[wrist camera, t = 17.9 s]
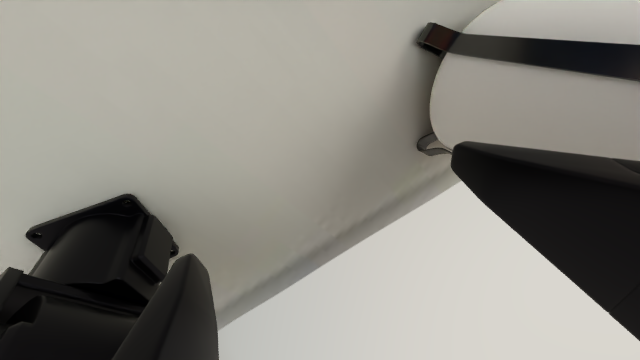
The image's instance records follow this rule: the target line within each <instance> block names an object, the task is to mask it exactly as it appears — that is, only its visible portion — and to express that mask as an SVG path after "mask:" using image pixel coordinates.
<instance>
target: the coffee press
mask: <svg viewBox="0 0 640 360" xmlns="http://www.w3.org/2000/svg"><path fill="white" fill-rule="evenodd" d="M417 44H418V45H419V46H420V47H421V48H423V49H425V50H426V51H428V52H430V53H432V54H434V55H436V56H438V57H440V58H441V59H443V61H442V63H441V65H440V67H439V70H438V72H437V75H436V77H435V80H434V84H433V88H432V92H431V98H430V119H431V124H432V128H433V130H434V132H433V133H431V134H428V135H426V136H424V137H422V138H421V139H420V140H419V141H418V143H417V149H418V150H419V151H420V152H422V153H424V154H426V155H428V156H433V155H438V154H450V155H452V152H450V151H448V150H446V149H443V148H432V149H427V150H426V147H427V145H428V144H430V143H431V142H434V141H436V140H439V141H440V142H441V143H442V144H443V145H444V146H446V147H447V148H449V149H450V150H452V151H453V147H454V146H455V145H456V144H459V143H461V142H463V141H472V142H481V143H490V144H498V145H507V146H515V147H524V148H532V149H541V150H550V151H558V152H567V153H575V154H584V155H592V156H601V157H609V158H619V159H627V160H636V161H640V0H502V1H500V2H498V3H496V4H494V5H493V6H491V7H489V8H488V9H486V10H485V11H484V12H482V13H481V14H480V15H478V16H477V17H476V18H475V19H474V20H473V21H472V22H471V23H470V24H469V25H468V26H467V27H466V28H465V29H464V30H463V31H462V32H461V33H460V32H456V31H454V30H451V29H448V28H446V27H443V26H441V25H438V24H436V23H428V24H427V25H426V27H425V29H424V30H423V32H422V34H421V35H420V37H419V39H418V40H417Z"/></svg>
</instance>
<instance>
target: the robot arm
mask: <svg viewBox="0 0 640 360" xmlns="http://www.w3.org/2000/svg"><path fill="white" fill-rule="evenodd" d="M451 168H452V170H453V171H454V173H455V174H456V175H457V176H458V177H459V178H460V179H461V180H462V181H463V182H464V183H465V184H466V185H467V186H468V188H470V189H471V191H472V192H473V193H474V194H475V195H476V196H477V197H478V198H479V199H480V200H481V201H482V202H483V203H484V204H485V205H486V206H487V207H488V208H489V209H491V210H492V211H493V212H494V213H495V214H496V215H497V216H499V217H500V218H501V219H502V220H503V221H504V222H505V223H507V224H508V225H509V226H510V227H511V228H512V229H513V230H514V231H516V232H517V233H518V234H519V235H520V236H522V238H524V239H525V240H526V241H527V242H528V243H529V244H531V245H532V246H533V247H534V248H535V249H536V250H537V251H538V252H540V253H541V254H542V255H543V256H544V257H545V258H546V259H547V260H549V261H550V262H551V263H552V264H553V265H554V266H556V267H557V268H558V269H559V270H560V271H561V272H562V273H563V274H565V275H566V276H567V277H568V278H569V279H570V280H571V281H572V282H574V283H575V284H576V285H577V286H578V287H579V288H580V289H582V290H583V291H584V292H585V293H586V294H587V295H588V296H590V297H591V298H592V299H593V300H594V301H595V302H596V303H598V304H599V305H600V306H601V307H602V308H603V309H604V310H606V311H607V312H609V314H610V315H611V316H612V317H613V318H614V319H615V320H616V321H618V322H619V323H620V324H621V325H622V326H624V327H625V328H626V329H627V330H628V331H629V332H630V333H631V334H632V335H634V336H635V337H636V338H637V339H638V340H639V341H640V161H636V160H627V159H619V158H609V157H601V156H592V155H584V154H575V153H567V152H558V151H550V150H541V149H532V148H524V147H515V146H507V145H498V144H490V143H481V142H472V141H463V142H461V143H459V144H456V145H455V146H454V147H453V151H452V158H451ZM125 200H128V201H130V202H131V203H126V202H125ZM36 233H40V234H41V235H39V234H36ZM26 237H27V238H28V239H29V240H30V241H31V242H33V243H34V244H36V245H37V246H38V247H40V248H41V249H43V250H44V251H45V252H44V253H43V255H42V256H41V258H40V259H39V261H38V262H37V263H36V265H35V266H34V268H33V269H32V271H31V272H30V273H29V275H27V274H23V272H24V271H22V270H18V269H14V268H11V267H9V268H7V269H6V270H5V271H4V272H3V273H2V274H1V275H0V360H219V354H218V332H217V321H216V315H215V309H214V303H213V296H212V290H211V284H210V278H209V274H208V271H207V269H206V268H205V267H204V266H203V264H202V263H201V262H200V261H199V259H198V258H197V257H196V256H195V255H194V254H188V255H185V256H183V257H180V258H178V259H177V260H176V261H175V263H174V264H173V266H172V267H171V269H170V270H169V272H168V273H167V271H168V264H169V258H172V257H174V256H176V255H177V254H178V252H179V247H178V246H177V245H176V243H175V242H174V241H173V237H172V235H171V234H170V233H169V232H168V231H167V230H166V228H165V227H164V226H163V225H162V224H161V222H160V221H159V220H158V219H157V218H156V217H155V216H154V215H151V214H150V213H149V212H148V211H147V210H146V208H145V207H144V206H143V205H142V204H141V203H140V201H139V200H138V199H137V198H136V197H135V196H134V195H131V194H124V195H121V196H118V197H115V198H112V199H110V200H107V201H104V202H101V203H98V204H96V205H93V206H90V207H87V208H84V209H81V210H79V211H76V212H73V213H70V214H67V215H65V216H62V217H59V218H56V219H53V220H50V221H48V222H45V223H42V224H39V225H36V226H34V227H32V228H30V229H29V231H28V232H27V233H26ZM171 250H173V251H171ZM160 282H162V283H161V284H160ZM159 284H160V286H159Z"/></svg>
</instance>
